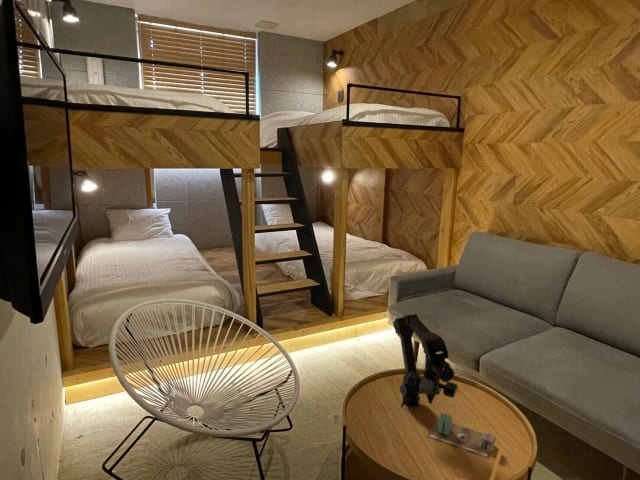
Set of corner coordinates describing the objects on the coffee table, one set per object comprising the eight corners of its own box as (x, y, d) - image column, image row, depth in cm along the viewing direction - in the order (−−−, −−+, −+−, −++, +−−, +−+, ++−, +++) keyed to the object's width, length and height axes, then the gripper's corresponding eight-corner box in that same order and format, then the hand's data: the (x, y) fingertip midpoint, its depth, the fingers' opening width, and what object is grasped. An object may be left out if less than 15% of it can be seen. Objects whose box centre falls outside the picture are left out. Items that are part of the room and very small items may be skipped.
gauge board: (426, 439, 168) (427, 428, 166) (436, 420, 178) (437, 409, 177) (490, 462, 156) (491, 450, 154) (497, 440, 166) (498, 429, 165)
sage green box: (437, 431, 169) (438, 418, 168) (440, 425, 173) (441, 412, 171) (448, 435, 167) (448, 422, 166) (451, 429, 171) (451, 416, 169)
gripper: (401, 370, 165) (400, 406, 169) (451, 385, 155) (448, 422, 159) (412, 357, 174) (410, 392, 178) (459, 370, 164) (456, 406, 168)
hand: (430, 403), depth 171 cm, fingers closed
